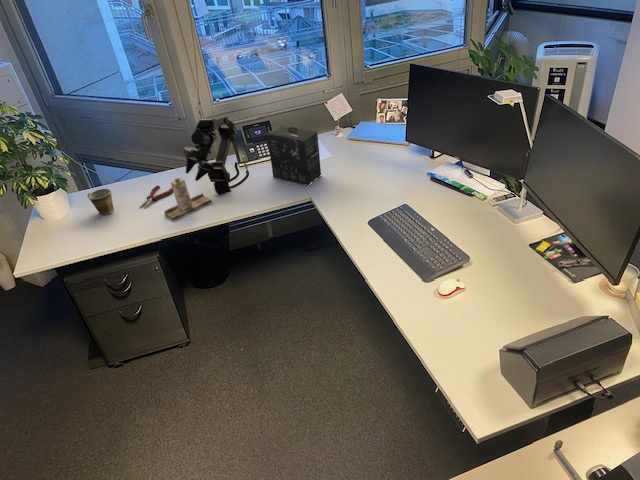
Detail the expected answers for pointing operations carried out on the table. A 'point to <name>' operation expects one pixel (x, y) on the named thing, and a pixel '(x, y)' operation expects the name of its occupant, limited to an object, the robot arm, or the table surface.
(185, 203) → the beige boxy piece
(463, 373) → the table surface
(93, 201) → the ceramic cup
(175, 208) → the board
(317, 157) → the headset box
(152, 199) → the pliers
